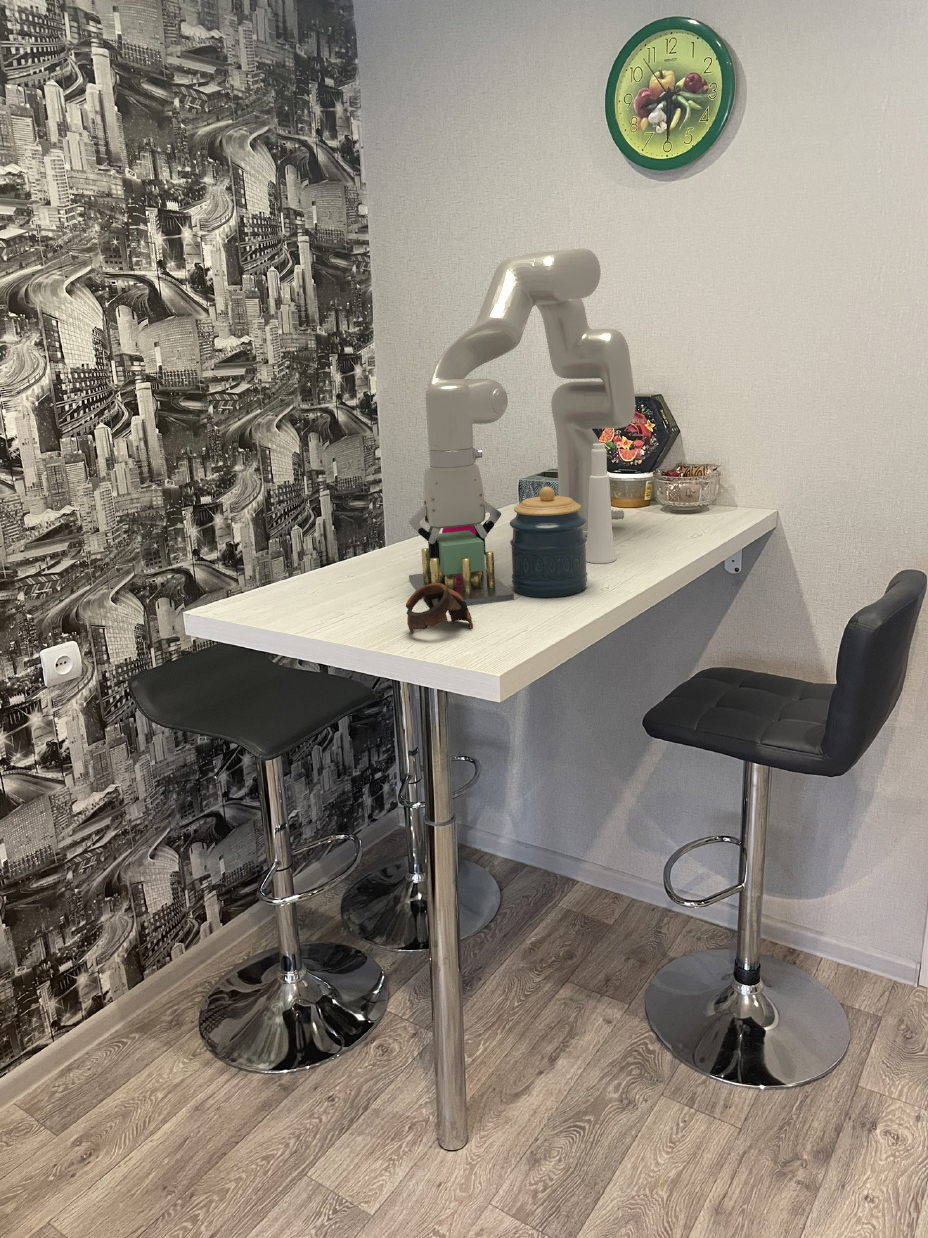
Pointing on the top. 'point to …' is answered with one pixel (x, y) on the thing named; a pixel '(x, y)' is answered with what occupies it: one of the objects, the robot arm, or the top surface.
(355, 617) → the top surface
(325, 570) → the top surface
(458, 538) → the green boxy piece
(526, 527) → the canister
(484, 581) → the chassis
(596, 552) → the cosmetic bottle
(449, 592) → the brown curved shards
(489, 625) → the top surface
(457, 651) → the top surface
